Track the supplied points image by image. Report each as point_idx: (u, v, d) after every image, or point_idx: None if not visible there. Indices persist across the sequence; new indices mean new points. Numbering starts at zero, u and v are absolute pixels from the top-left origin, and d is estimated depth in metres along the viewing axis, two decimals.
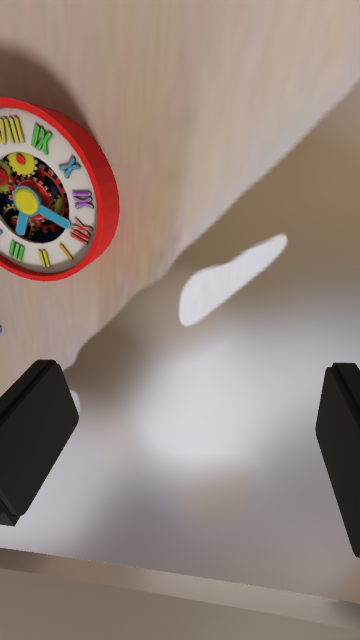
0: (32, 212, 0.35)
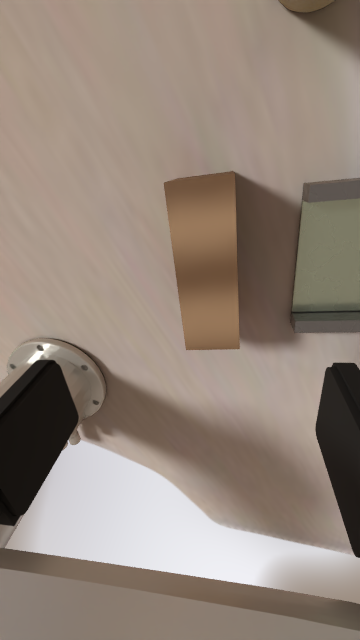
0: None
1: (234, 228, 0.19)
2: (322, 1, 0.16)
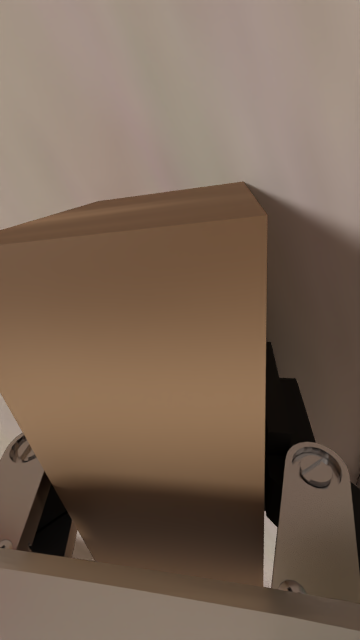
0: None
1: (257, 430, 0.04)
2: None
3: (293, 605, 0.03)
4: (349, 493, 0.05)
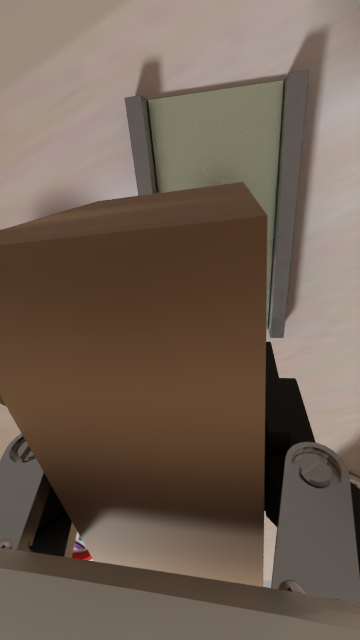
0: None
1: (257, 431, 0.04)
2: None
3: (293, 605, 0.03)
4: (349, 493, 0.05)
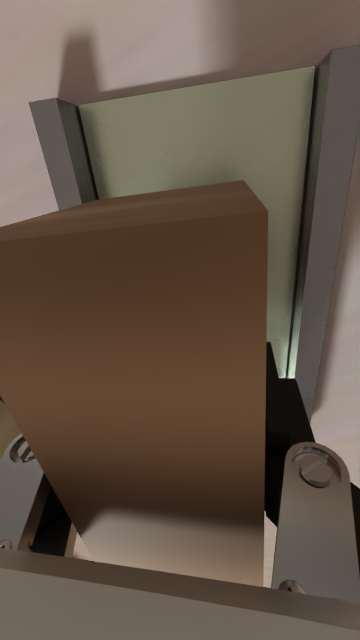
0: None
1: (257, 429, 0.04)
2: (13, 437, 0.23)
3: (293, 605, 0.03)
4: (349, 493, 0.05)
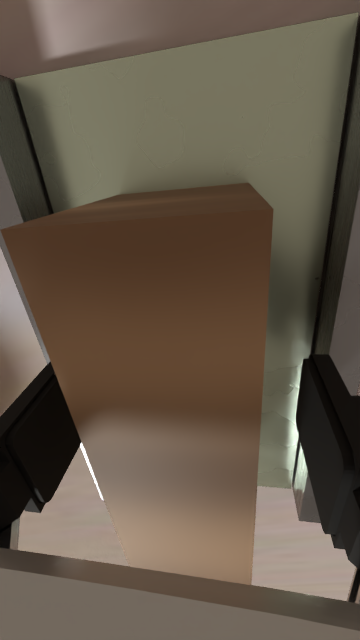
0: None
1: (257, 382, 0.06)
2: None
3: (293, 605, 0.03)
4: None
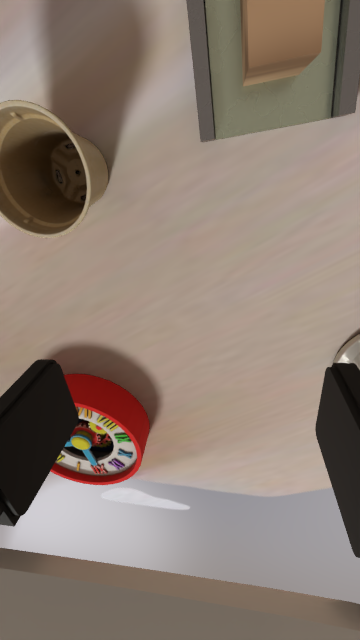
0: (78, 448, 0.45)
1: None
2: (102, 165, 0.27)
3: (293, 605, 0.03)
4: None
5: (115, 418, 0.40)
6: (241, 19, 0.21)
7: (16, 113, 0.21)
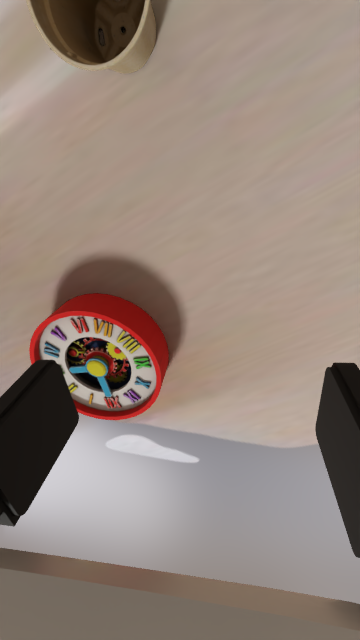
0: (93, 375, 0.43)
1: None
2: None
3: (293, 605, 0.03)
4: None
5: (138, 334, 0.37)
6: None
7: None
